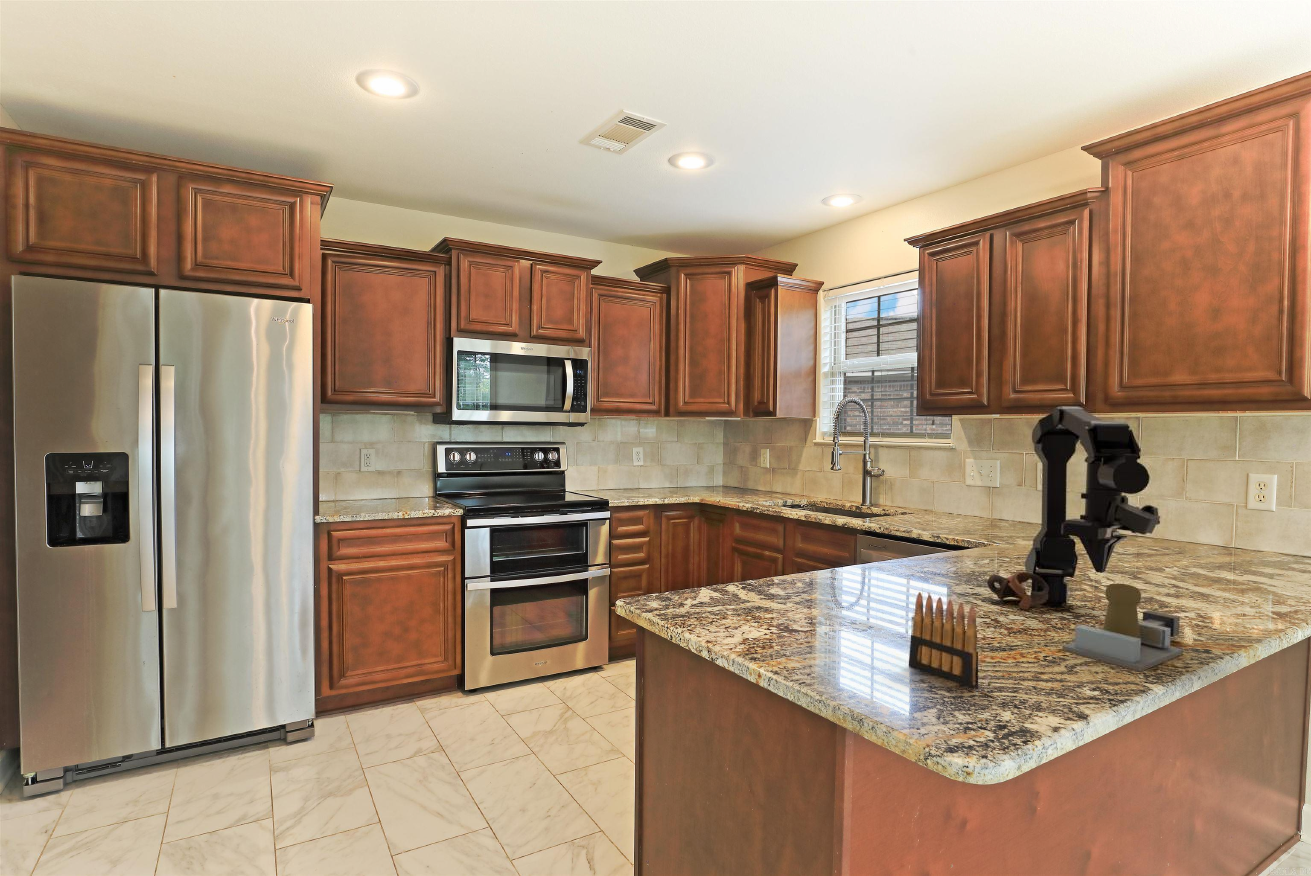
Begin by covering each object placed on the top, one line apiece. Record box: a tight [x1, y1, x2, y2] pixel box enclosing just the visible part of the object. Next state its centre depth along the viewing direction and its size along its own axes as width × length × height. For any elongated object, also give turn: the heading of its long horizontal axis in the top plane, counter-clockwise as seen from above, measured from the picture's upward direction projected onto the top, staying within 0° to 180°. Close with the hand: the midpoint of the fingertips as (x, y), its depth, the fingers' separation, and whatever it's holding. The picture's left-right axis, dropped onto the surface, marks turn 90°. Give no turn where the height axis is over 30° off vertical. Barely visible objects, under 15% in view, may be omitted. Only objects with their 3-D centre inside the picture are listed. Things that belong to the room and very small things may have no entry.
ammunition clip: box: [908, 591, 979, 689], centre depth 107 cm, size 11×2×12 cm, turn 35°
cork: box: [1102, 582, 1142, 652], centre depth 121 cm, size 6×6×11 cm
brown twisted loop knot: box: [986, 570, 1049, 611], centre depth 153 cm, size 12×10×8 cm
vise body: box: [1061, 624, 1184, 673], centre depth 124 cm, size 25×12×4 cm, turn 124°
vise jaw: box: [1138, 609, 1181, 649], centre depth 128 cm, size 12×9×3 cm
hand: (1100, 572), depth 130 cm, fingers closed
